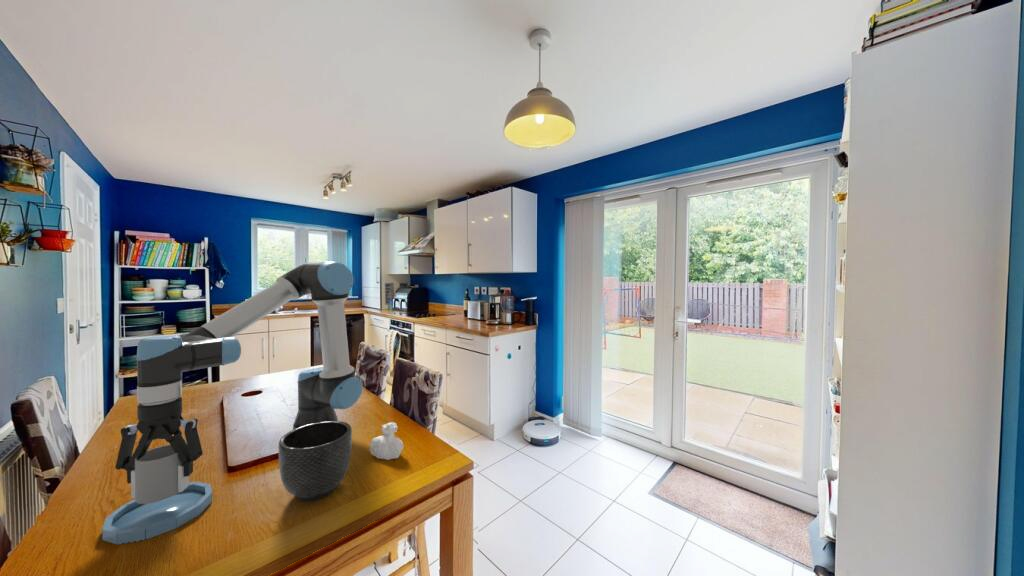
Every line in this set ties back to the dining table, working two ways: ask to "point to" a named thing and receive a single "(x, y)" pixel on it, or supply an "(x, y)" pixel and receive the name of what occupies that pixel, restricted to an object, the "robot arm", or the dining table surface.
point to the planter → (315, 458)
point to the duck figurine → (387, 443)
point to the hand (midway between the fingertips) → (161, 491)
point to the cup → (156, 475)
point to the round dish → (156, 515)
